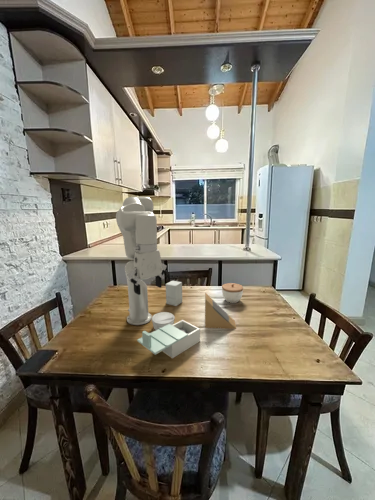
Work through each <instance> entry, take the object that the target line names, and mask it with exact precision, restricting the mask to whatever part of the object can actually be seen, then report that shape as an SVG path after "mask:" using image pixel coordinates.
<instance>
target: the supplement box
mask: <svg viewBox="0 0 375 500" xmlns="http://www.w3.org/2000/svg"><path fill="white" fill-rule="evenodd" d="M165 300H166V301H165V303H166V304H167V305H170V306H174V307H177V306H178V305H180V304H181V303H183V281H177V280H171V281H169V282H167V283H165Z"/></svg>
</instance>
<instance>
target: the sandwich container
mask: <svg viewBox="0 0 375 500" xmlns="http://www.w3.org/2000/svg"><path fill="white" fill-rule="evenodd" d="M204 295H205V297H204V328H205V329H227V330H230V329H231V330H233V329H235V330H236V329H237V324H236V322H235V320H234V319H233V318H232V317H231V316H230V315H229V314H228V313H227V312H226V311H225V310H224V309H223V308H222V307H221V306H220V305H219V304H218V303H217V302H216V301H215V300H214V299H213V298H212V297H211V296H210V295H208V294H207V293H206V292H205V294H204Z"/></svg>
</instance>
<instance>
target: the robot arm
mask: <svg viewBox="0 0 375 500" xmlns="http://www.w3.org/2000/svg"><path fill="white" fill-rule="evenodd" d="M157 219H158V218H157V216H156V214H155V213H154V201H153V200H152V198H150V197H149V196H129V197H126V198H124V200H123V202H122V207H119V209H118V210H117V211H116V214H115V220H116V224H117V227H118V230H119V231H120V233H121V235H122V238H123V245H124V246H123V247H124V251H125V256H126V258H127V259H129V261H128V262H126V264H125V266H124V272H125V277H126V283H127V293H128V306H129V308H128V309H127V311H128V313H129V315H128V316H126V321H127V323H128V324H129V325H133V326H141V325H145V324H147V323H150V321H152V317H153V315H152V314H151V313H150V312H149V297H148V285H147V284H146V282H145V281H144V280H148V279H151V278H154V279H155V280H154V282H155V283H154V284H155V286H156V287H158V288H159V289H161V288H162V283H163V282H162V279H163V277H164V274H165V272H166V269H167V265H166V264H164V263H162V257H161V252H160V249H158V230H157V227H158V226H157Z"/></svg>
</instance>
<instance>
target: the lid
mask: <svg viewBox="0 0 375 500" xmlns="http://www.w3.org/2000/svg"><path fill="white" fill-rule="evenodd" d="M187 336H188V334H187V333H185V332H183V331H181V330H179V329H178V328H176V327H174V326H172V325H171V324H168V325H166V326H164V327H162V328H159V329H158V330H153V331H151V332H148V331H146V330H143V331H142V332H141V337H139V338H138V339H137V341H136V342H138V343H139V344H141V346H143V347H144V348H146V349H147V350H148V351H149V352H151V353H152V354H154V356H155V355H157V354H159V353H161V352H163V350H164V349H166V348H168V347H170V346H171V345H173V344H175V343H177V342H178V341H180V340H182V339H184V338H185V337H187Z"/></svg>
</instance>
